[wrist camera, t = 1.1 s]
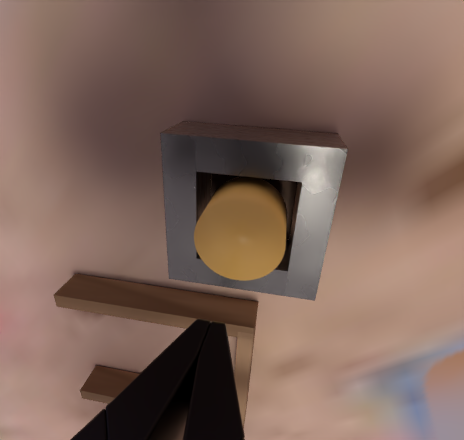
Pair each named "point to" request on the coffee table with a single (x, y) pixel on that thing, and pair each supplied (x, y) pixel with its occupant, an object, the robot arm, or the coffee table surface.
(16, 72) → the coffee table surface
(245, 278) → the button
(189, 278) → the button housing
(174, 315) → the brown wooden u-shaped frame
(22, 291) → the coffee table surface
